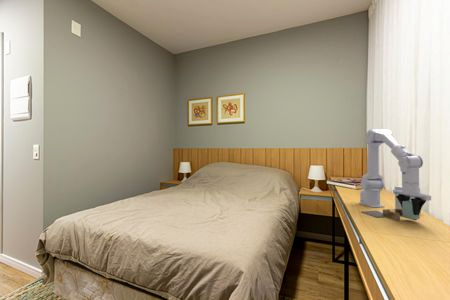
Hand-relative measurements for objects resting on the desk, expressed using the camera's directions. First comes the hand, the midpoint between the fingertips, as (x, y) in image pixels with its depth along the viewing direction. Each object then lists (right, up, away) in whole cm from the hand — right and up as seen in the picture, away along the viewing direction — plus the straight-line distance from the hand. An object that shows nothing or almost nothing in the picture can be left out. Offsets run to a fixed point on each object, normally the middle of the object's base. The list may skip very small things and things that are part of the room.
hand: (410, 213), depth 91 cm
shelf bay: (-1, -4, +5) cm, 6 cm away
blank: (0, -2, 0) cm, 2 cm away
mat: (-8, -4, +10) cm, 13 cm away
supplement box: (+12, -4, +16) cm, 20 cm away
